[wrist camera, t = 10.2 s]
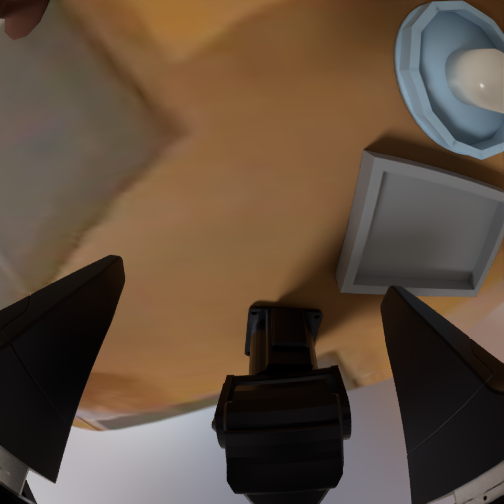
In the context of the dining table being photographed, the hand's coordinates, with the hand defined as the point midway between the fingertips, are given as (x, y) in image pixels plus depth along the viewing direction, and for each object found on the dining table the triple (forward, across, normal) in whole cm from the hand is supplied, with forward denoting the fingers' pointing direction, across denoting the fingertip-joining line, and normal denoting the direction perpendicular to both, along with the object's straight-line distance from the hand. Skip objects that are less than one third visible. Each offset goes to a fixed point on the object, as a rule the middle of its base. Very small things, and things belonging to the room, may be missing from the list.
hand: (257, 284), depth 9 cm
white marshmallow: (+11, -14, -11) cm, 21 cm away
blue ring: (+12, -14, -11) cm, 21 cm away
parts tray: (+12, -14, +2) cm, 19 cm away
